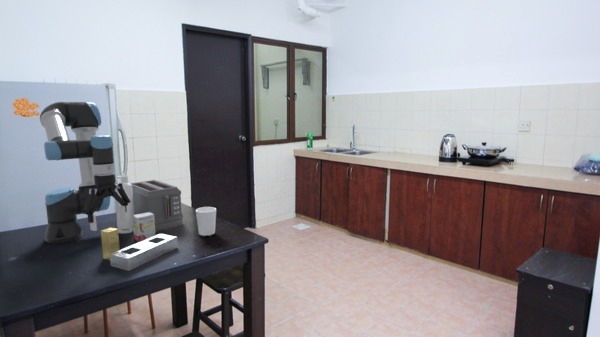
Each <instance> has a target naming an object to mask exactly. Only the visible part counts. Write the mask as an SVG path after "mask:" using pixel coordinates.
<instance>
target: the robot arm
mask: <svg viewBox="0 0 600 337" xmlns="http://www.w3.org/2000/svg"><path fill="white" fill-rule="evenodd" d="M39 121H40V124H41V126H42V127H43V128H44V130H45V134H46V137H47V138H46V139H47V141H45V142H44V144H43V149H44V155H45V159H46V160H48V161H63V160H73V159H75V160H76V159H78V164H79V172H80V184H79V185H78V189H77V190H75V189H74V188H73V187H63V188H58V189H54V190H51V191H49V192H47V194H46V195H45V197H44V199H45V202H44V205H45V207H46V208H45V209H46V219H47V220H46V221H47V227H46V231H45V234H44V240H45V243H47V244H63V243H68V242H73V241H77V240H79V239H81V238H82V237H83V234H84V233H83V229H82V227H81V225H80V223H79V221H78V217H77V215H87V222H88V223H89V226H90V227H89V228H90V231H94V232H95V231H98V224H97V217H96V213H99V212H102V211H103V212H104V211H107V210H108V209H109V208H110V204H111V197H112V198H113V199H114V200H115V199H116V200H117V201H118V202H119V203H120V204H121V205H120V206H119V211H120V221H126V212H127V209H126V206H127V205H128V203H130V200H129V198H128V196H127V194H126V193H125V191H124V189H123V186H122V183H121V182H120V183H118V182H116V180H117V179H116V174H115V172H116V170H115V161H114V149H113V148H114V147H113V146H114V143H113V140H112V136H111V135H109V134H108V135H107V134H105V135H100V134H99V135H97V134H96V132H97V131H98V130H99V127H100V126H102V116H101V113H100V109H99V107H98V105H97V104H96V103H95V102H90V101H89V102H87V101H57V102H54V103H51V104H49V105H47V106H46V107H45V108H43V110H42V111H41V112H40V114H39ZM67 127H70V129H71V130H70V131H71V132H73V133H74V134H75V139H70V136H69V134H68V130H67ZM115 189H117V191H118V192H119V194H120V196H121V197H122V198H121V197H120V196H119V195H118V193H117V192H116V191H115Z"/></svg>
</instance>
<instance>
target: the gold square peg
mask: <svg viewBox="0 0 600 337" xmlns="http://www.w3.org/2000/svg"><path fill="white" fill-rule="evenodd" d="M100 236H101V248H102V257H103V260H108V261H110V254H111V253H114V252H116V251H119V250H121V249H120V238H119V233H118V228H115V227H108V228H105V229H102V230H100Z"/></svg>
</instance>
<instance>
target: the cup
mask: <svg viewBox="0 0 600 337" xmlns="http://www.w3.org/2000/svg"><path fill="white" fill-rule="evenodd" d="M195 216H196V223H197V229H198V235H199V236H201V237H202V238H205V237H206V236H207V237H212V235H215V233H216V221H217V208H216V207H213V206H203V207H198V208H196V209H195Z"/></svg>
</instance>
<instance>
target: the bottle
mask: <svg viewBox="0 0 600 337" xmlns="http://www.w3.org/2000/svg"><path fill="white" fill-rule="evenodd" d="M116 180H117V182H116V183H122V186H123V189H124V191H125V193H126V194H127V196H128V198H129V200H130V203H128V205H127V206H126V209H127V212H126V221H120V211H119V206H120V205H121V204H120V203H119V202H118V201H117V200H116V199H115V198H114V203H115V211H116V212H115V215H116V225H117V226H116V227H117V229H118V234H131V233H134V229H133V216H134V203H133V190H132V185H131V184H130V183H131V182H129V176H128V175H125V174H124V175H122V174H121V175H117V176H116ZM115 191H116V192H117V193H118V195H119V196H120V194H119V192H118V191H117V189H115ZM120 197H121V196H120ZM121 198H122V197H121Z"/></svg>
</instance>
